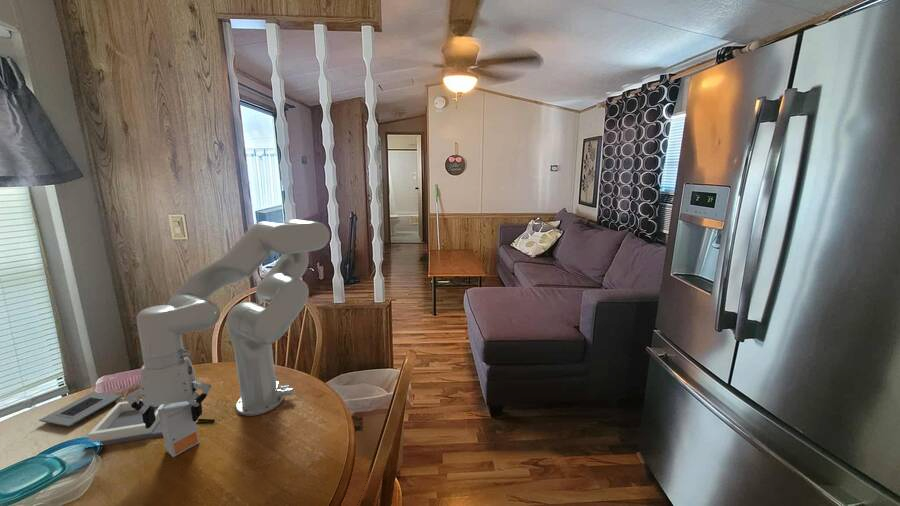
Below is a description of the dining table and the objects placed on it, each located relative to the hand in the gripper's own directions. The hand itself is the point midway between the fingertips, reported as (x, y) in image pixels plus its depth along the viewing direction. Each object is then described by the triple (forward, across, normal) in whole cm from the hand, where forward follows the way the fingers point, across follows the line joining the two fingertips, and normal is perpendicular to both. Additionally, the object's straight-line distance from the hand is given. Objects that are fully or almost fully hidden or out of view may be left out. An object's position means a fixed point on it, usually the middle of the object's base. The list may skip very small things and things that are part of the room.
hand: (174, 421), depth 88 cm
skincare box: (+8, -1, -1) cm, 8 cm away
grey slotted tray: (+9, +32, -24) cm, 41 cm away
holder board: (+8, +12, -14) cm, 20 cm away
